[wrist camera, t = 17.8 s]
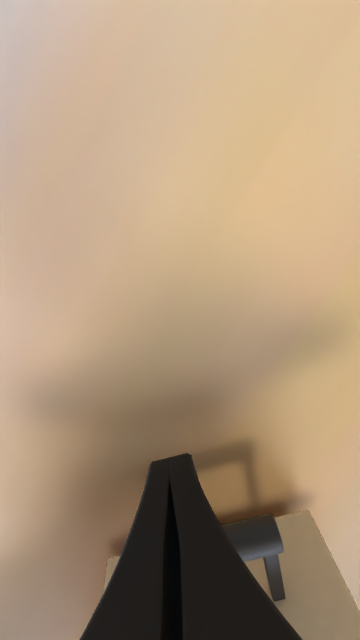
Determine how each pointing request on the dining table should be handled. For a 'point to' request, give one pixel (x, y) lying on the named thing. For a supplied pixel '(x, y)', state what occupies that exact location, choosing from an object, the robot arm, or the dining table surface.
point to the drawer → (293, 574)
